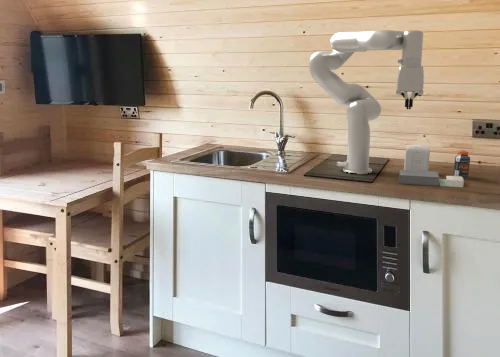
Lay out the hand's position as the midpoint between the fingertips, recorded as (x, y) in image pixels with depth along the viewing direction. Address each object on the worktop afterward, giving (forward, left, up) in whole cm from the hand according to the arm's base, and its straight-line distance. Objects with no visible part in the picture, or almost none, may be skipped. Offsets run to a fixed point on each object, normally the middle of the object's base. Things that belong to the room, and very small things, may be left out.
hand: (408, 108), depth 214 cm
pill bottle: (+23, +10, -29) cm, 39 cm away
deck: (+6, -3, -29) cm, 30 cm away
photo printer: (+5, +15, -29) cm, 33 cm away
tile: (+19, -4, -27) cm, 33 cm away
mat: (+18, -3, -29) cm, 34 cm away
